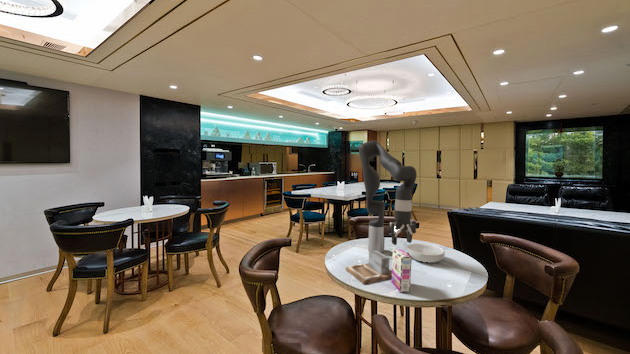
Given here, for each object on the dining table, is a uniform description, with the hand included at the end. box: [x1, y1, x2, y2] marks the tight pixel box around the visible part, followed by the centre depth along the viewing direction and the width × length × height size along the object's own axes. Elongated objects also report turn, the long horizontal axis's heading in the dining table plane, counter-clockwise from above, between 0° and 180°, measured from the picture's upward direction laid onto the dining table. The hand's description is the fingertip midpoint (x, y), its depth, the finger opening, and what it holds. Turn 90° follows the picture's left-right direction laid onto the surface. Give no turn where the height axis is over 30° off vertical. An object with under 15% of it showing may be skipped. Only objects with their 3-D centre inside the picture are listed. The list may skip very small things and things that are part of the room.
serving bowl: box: [406, 243, 446, 264], centre depth 157 cm, size 21×21×7 cm
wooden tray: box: [345, 251, 392, 285], centre depth 137 cm, size 20×17×10 cm
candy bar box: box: [391, 248, 413, 293], centre depth 123 cm, size 11×5×16 cm, turn 5°
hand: (401, 243), depth 122 cm, fingers open, 8 cm apart
